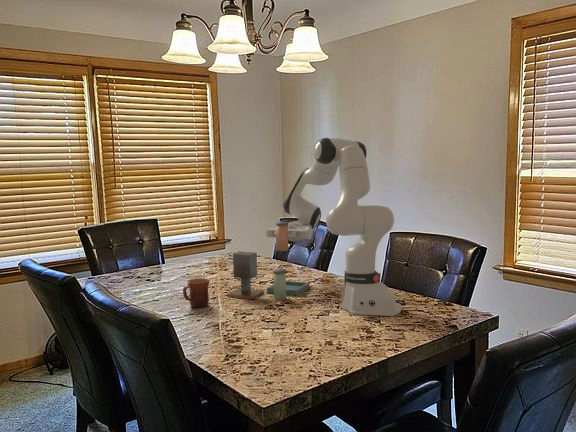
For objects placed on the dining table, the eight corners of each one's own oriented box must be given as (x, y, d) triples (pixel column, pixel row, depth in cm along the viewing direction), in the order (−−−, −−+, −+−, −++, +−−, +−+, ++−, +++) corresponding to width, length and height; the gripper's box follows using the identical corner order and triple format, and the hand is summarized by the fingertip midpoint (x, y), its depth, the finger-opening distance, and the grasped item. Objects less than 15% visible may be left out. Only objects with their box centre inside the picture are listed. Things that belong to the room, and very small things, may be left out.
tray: (309, 287, 214) (309, 282, 214) (297, 296, 201) (296, 290, 201) (280, 285, 220) (280, 280, 219) (267, 292, 207) (267, 287, 207)
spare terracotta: (290, 249, 210) (289, 222, 209) (285, 251, 205) (285, 223, 204) (279, 248, 212) (279, 221, 211) (274, 250, 208) (274, 223, 206)
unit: (264, 293, 206) (262, 252, 204) (253, 299, 197) (251, 256, 195) (239, 290, 211) (238, 250, 209) (227, 296, 202) (226, 254, 200)
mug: (200, 301, 196) (199, 277, 195) (215, 305, 191) (214, 279, 189) (177, 309, 186) (175, 283, 185) (192, 313, 181) (191, 286, 180)
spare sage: (288, 297, 199) (287, 269, 198) (283, 301, 194) (282, 272, 193) (277, 296, 201) (276, 268, 200) (271, 299, 196) (270, 271, 195)
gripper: (273, 223, 224) (259, 227, 211) (314, 225, 216) (303, 228, 203) (273, 237, 224) (260, 241, 212) (314, 239, 216) (303, 243, 204)
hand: (281, 235), depth 207 cm, fingers closed on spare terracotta, 5 cm apart
